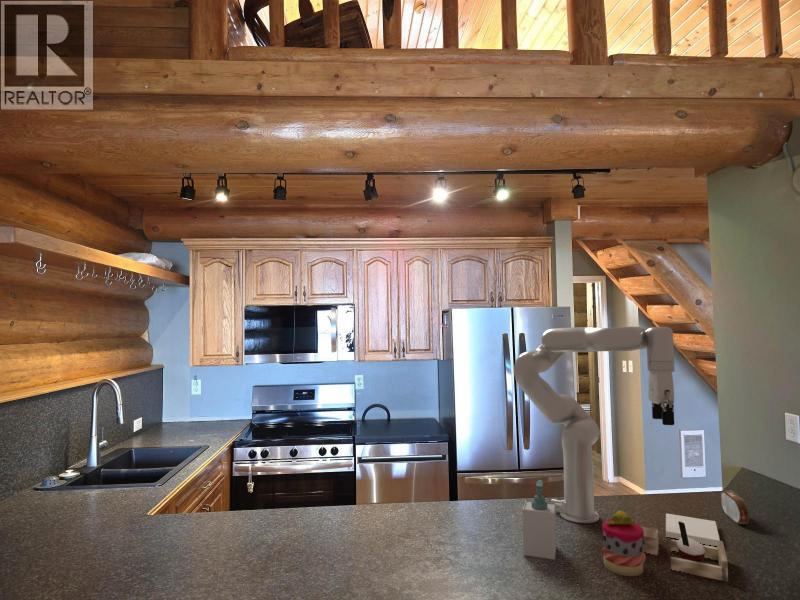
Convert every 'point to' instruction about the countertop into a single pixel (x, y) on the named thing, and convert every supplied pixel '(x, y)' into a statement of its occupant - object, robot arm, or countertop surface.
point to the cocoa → (689, 547)
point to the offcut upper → (650, 536)
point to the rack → (703, 568)
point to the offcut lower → (651, 549)
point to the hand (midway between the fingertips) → (663, 421)
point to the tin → (734, 507)
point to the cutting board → (693, 529)
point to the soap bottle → (539, 526)
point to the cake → (623, 545)
